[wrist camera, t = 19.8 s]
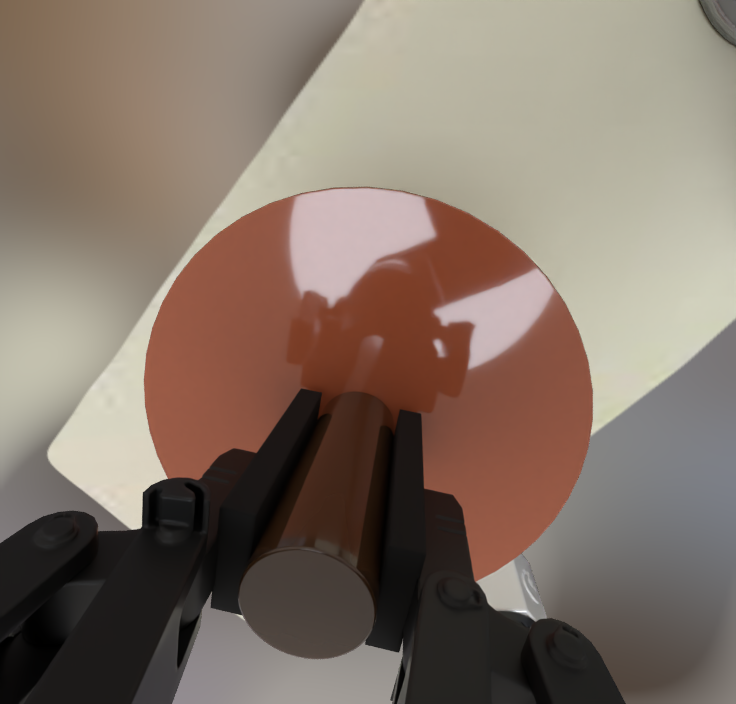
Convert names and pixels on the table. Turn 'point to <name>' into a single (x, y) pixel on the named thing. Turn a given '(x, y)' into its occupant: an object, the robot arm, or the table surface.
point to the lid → (369, 390)
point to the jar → (514, 592)
